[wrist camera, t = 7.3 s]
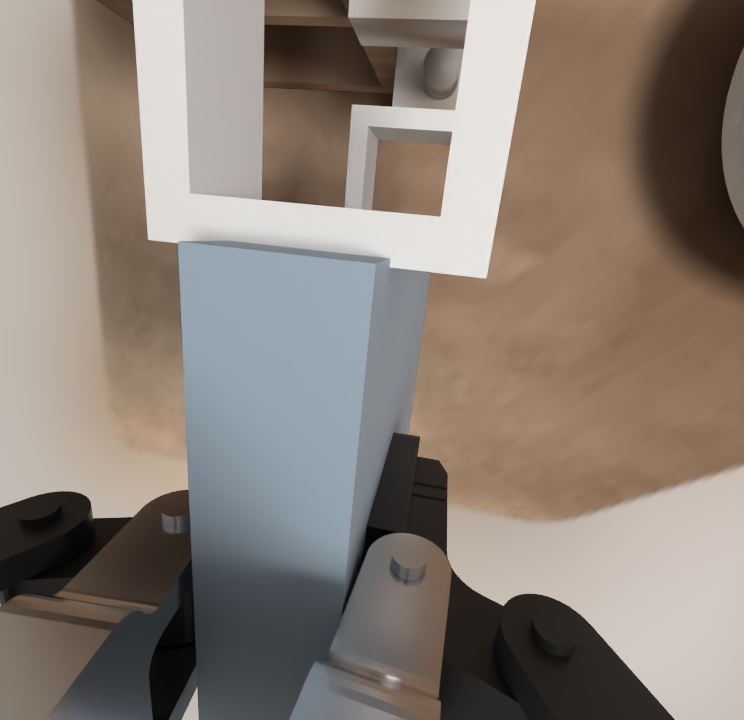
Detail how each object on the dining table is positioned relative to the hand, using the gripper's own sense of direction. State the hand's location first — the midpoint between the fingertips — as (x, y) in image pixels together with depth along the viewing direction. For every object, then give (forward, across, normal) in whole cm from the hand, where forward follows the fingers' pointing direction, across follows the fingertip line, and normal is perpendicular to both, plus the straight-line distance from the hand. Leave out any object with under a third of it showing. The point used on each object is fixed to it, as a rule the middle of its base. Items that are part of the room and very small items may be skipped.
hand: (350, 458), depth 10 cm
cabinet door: (+11, 0, -1) cm, 11 cm away
